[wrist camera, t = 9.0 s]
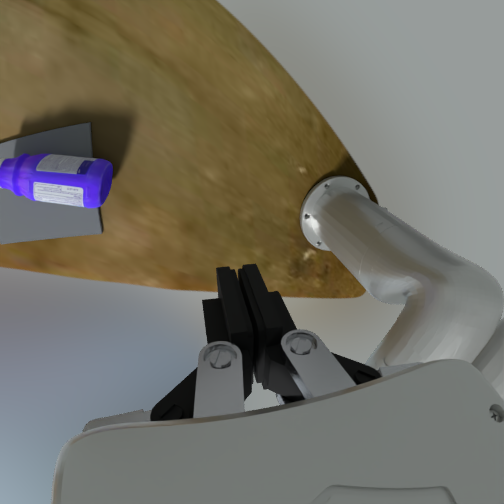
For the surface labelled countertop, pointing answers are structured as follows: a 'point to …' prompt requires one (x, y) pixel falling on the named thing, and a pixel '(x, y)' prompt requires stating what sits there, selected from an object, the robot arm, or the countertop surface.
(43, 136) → the mat
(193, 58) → the countertop surface
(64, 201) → the bottle
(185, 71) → the countertop surface
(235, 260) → the countertop surface
